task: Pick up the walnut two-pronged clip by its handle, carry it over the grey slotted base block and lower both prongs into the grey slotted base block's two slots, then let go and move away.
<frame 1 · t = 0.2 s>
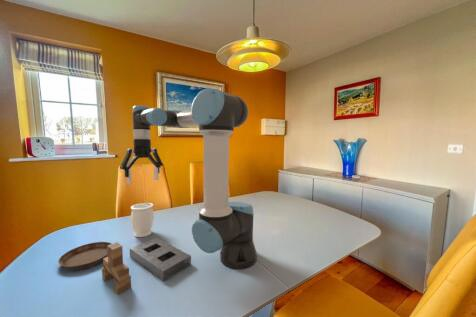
hand: (143, 181, 99), 28 cm above the table, tool pointing down, fingers open, 13 cm apart
jar: (143, 234, 103), on the table
plant saucer: (87, 259, 81), on the table
grey slotted base block: (159, 260, 80), on the table
clip: (116, 282, 68), on the table
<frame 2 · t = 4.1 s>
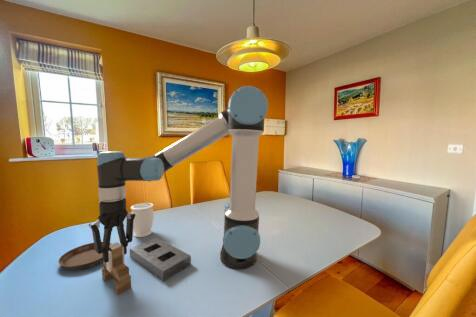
hand: (115, 266, 67), 6 cm above the table, tool pointing down, fingers closed on clip, 3 cm apart
clip: (116, 282, 68), on the table, touching gripper
everything else where it was.
when the fingers open (6 cm above the table, at t = 10.0 s): clip stays where it is, resting in grey slotted base block.
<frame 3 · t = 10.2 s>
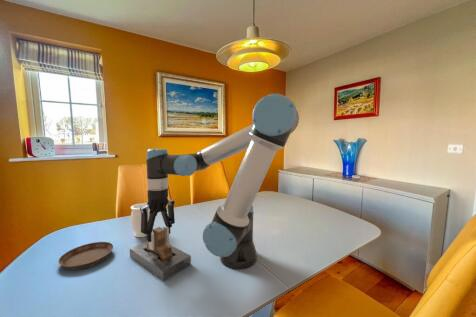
hand: (159, 245, 80), 6 cm above the table, tool pointing down, fingers open, 6 cm apart
clip: (159, 260, 80), resting in grey slotted base block
everything else where it was.
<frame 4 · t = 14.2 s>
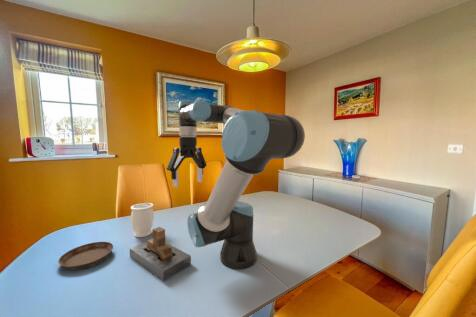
hand: (188, 184, 90), 29 cm above the table, tool pointing down, fingers open, 13 cm apart
nothing on the table moved.
at the end: clip 0.0 cm off-centre on the grey slotted base block, point 0.0 cm above the grey slotted base block's base; clip tilted 0°; the gripper is holding nothing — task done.
